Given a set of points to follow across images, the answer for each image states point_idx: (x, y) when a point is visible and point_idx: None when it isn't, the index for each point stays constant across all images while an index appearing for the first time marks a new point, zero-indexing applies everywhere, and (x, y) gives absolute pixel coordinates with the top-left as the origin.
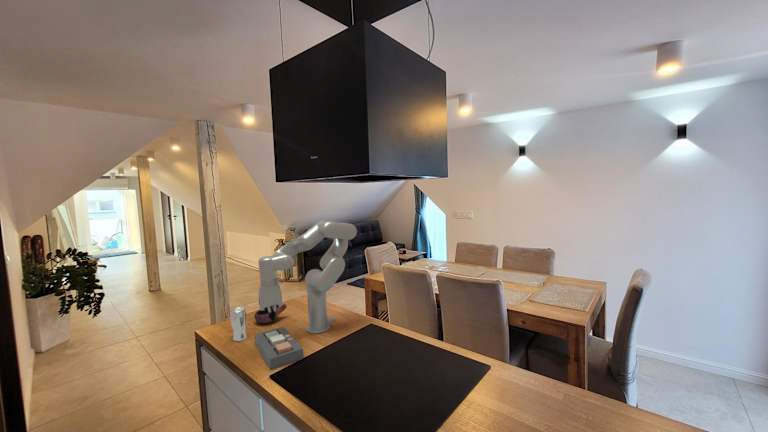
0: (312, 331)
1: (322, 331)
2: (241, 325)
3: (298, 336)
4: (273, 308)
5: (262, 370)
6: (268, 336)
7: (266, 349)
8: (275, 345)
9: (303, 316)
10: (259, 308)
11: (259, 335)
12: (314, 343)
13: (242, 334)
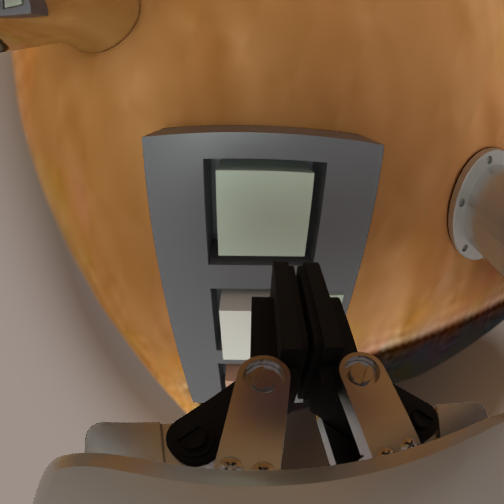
0: (455, 239)
1: (470, 258)
2: (47, 39)
3: (401, 214)
4: (327, 439)
5: (173, 363)
6: (228, 239)
7: (189, 358)
8: (226, 384)
9: (496, 25)
10: (88, 445)
11: (172, 184)
12: (396, 313)
13: (94, 38)
